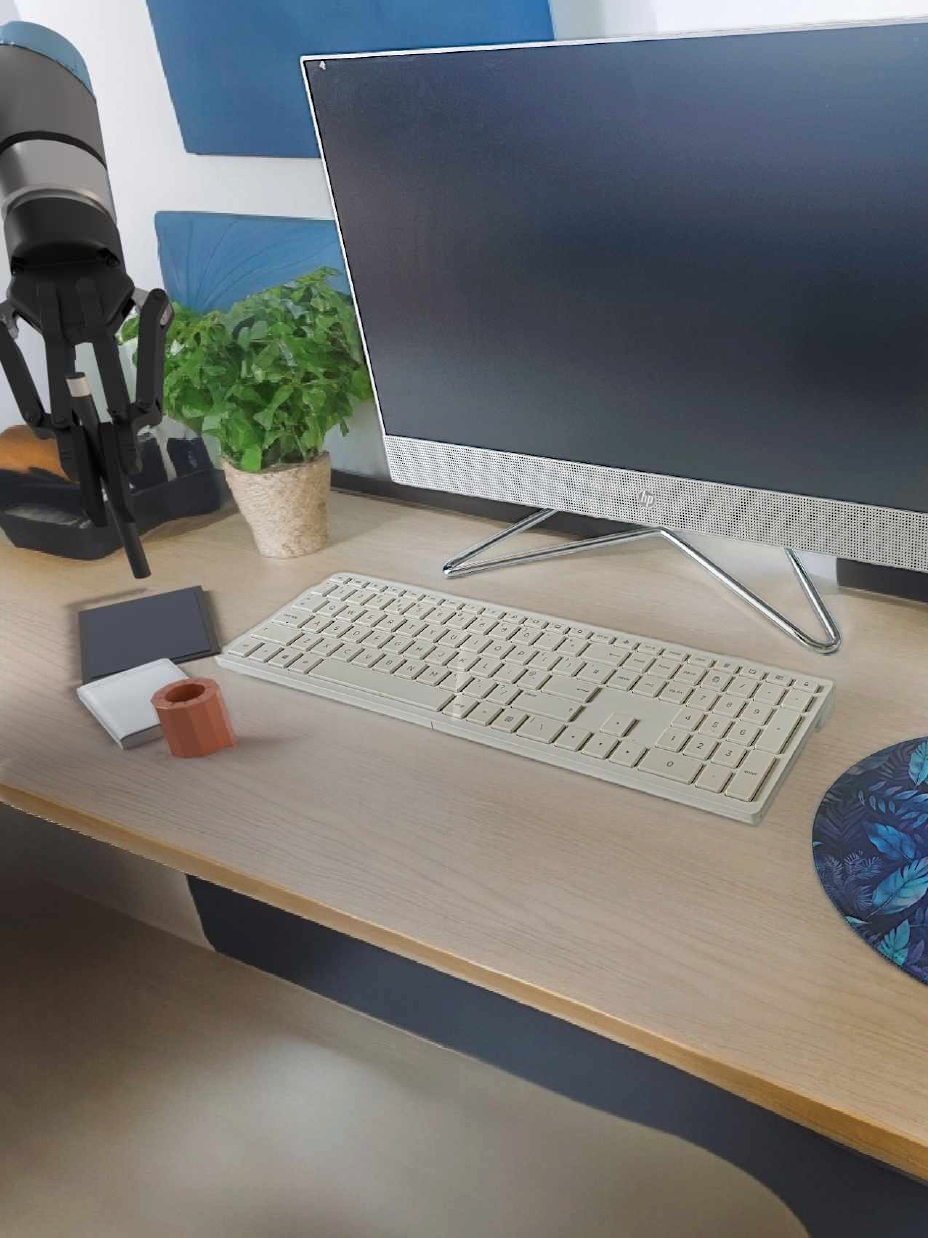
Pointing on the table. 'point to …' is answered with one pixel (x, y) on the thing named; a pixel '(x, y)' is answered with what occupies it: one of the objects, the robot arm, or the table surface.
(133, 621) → the tablet
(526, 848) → the table surface
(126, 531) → the stylus
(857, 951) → the table surface
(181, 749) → the pen holder
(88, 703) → the hard drive
